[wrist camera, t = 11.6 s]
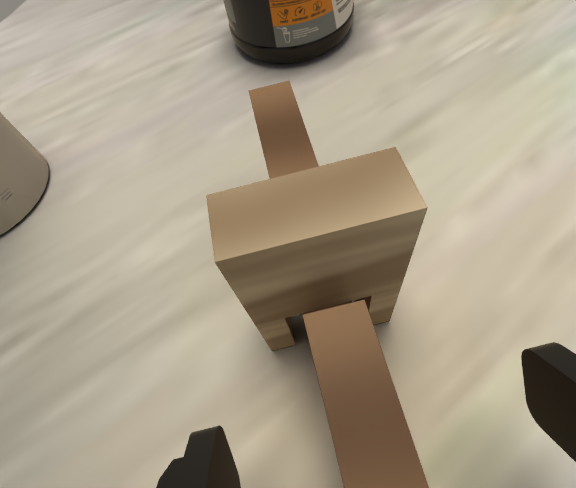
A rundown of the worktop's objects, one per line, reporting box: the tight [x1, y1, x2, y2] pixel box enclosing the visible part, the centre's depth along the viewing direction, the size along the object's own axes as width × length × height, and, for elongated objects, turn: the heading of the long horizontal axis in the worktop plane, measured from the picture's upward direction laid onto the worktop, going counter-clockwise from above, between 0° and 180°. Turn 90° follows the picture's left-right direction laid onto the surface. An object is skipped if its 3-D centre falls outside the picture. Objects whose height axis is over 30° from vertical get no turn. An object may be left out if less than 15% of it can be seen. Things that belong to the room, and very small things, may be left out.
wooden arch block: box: [206, 147, 428, 351], centre depth 15 cm, size 2×6×10 cm, turn 102°
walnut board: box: [249, 81, 429, 488], centre depth 16 cm, size 18×2×7 cm, turn 12°
